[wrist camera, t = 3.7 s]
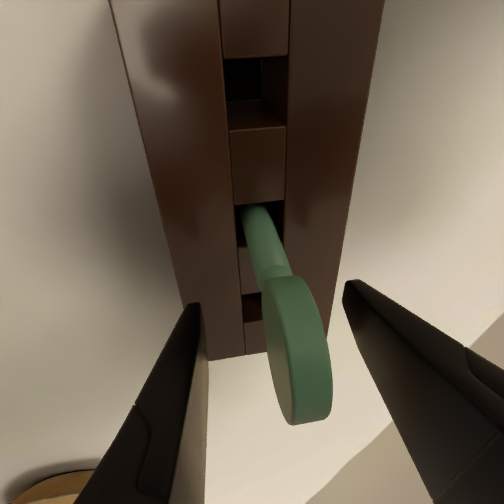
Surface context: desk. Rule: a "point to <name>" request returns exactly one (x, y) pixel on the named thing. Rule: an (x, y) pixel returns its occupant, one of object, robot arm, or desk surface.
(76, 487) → the plant saucer
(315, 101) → the holder
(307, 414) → the spoon
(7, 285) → the desk surface
